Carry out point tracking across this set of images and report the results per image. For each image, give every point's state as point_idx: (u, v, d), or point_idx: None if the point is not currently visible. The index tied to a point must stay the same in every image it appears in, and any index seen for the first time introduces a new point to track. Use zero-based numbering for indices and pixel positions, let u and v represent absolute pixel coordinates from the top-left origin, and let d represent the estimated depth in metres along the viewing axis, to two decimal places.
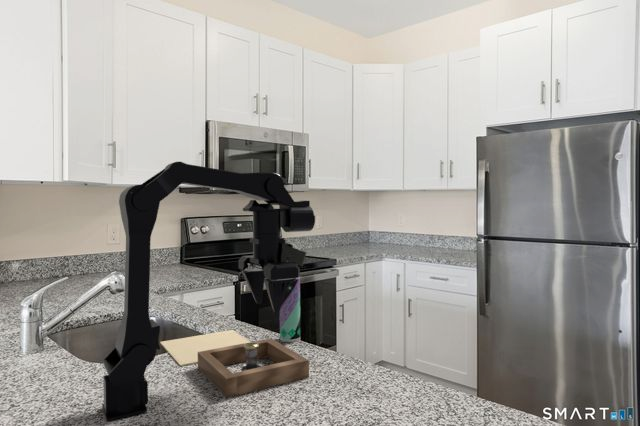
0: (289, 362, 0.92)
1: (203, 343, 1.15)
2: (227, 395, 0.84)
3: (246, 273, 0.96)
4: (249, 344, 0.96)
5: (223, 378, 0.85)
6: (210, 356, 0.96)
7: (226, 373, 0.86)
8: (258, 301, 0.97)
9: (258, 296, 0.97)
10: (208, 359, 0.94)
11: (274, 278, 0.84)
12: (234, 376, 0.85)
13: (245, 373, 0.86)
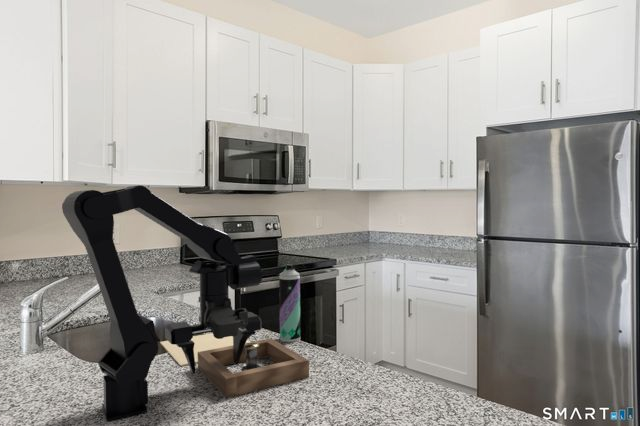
0: (289, 362, 0.92)
1: (203, 343, 1.15)
2: (227, 395, 0.84)
3: None
4: (249, 344, 0.96)
5: (223, 378, 0.85)
6: (210, 356, 0.96)
7: (226, 373, 0.86)
8: (234, 361, 0.94)
9: (234, 356, 0.94)
10: (208, 359, 0.94)
11: None
12: (234, 376, 0.85)
13: (245, 373, 0.86)
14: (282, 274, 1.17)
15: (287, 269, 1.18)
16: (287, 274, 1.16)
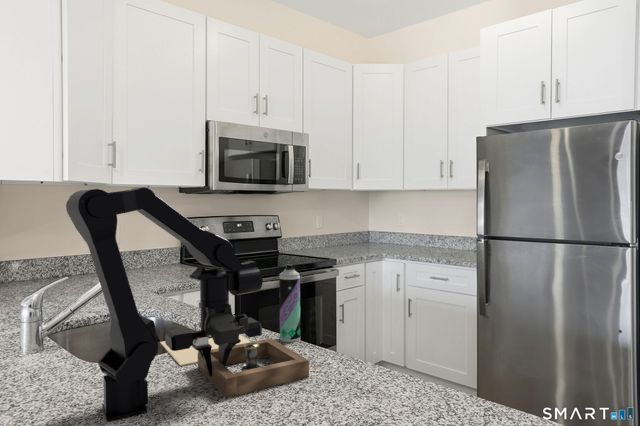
0: (289, 362, 0.92)
1: None
2: (227, 395, 0.84)
3: None
4: (249, 344, 0.96)
5: (223, 378, 0.85)
6: None
7: (226, 373, 0.86)
8: None
9: None
10: None
11: None
12: (234, 376, 0.85)
13: (245, 373, 0.86)
14: (282, 274, 1.17)
15: (287, 269, 1.18)
16: (287, 274, 1.16)
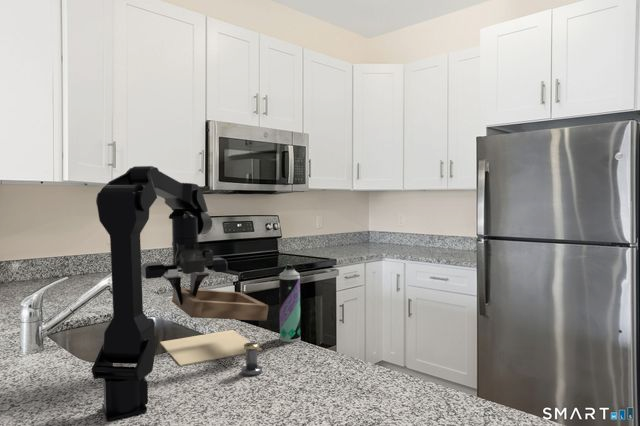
0: (250, 303, 1.05)
1: (203, 343, 1.15)
2: (192, 316, 0.96)
3: None
4: (249, 344, 0.96)
5: (191, 302, 0.98)
6: (184, 290, 1.09)
7: (195, 299, 0.99)
8: None
9: None
10: (182, 291, 1.07)
11: None
12: (201, 301, 0.98)
13: (211, 302, 0.99)
14: (282, 274, 1.17)
15: (287, 269, 1.18)
16: (287, 274, 1.16)
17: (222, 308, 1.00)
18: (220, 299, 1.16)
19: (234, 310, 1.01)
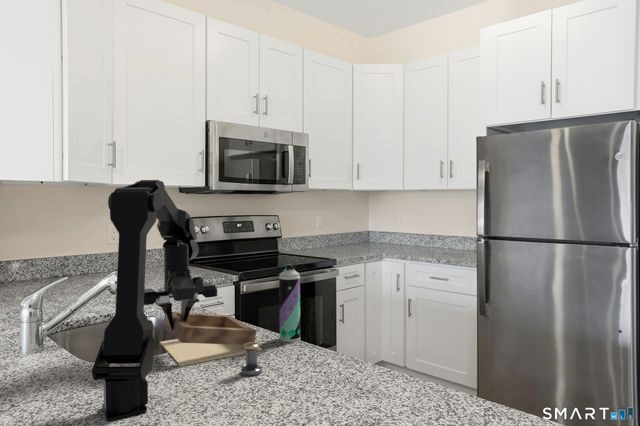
0: (239, 329, 1.09)
1: None
2: (182, 341, 1.01)
3: None
4: (249, 344, 0.96)
5: (182, 327, 1.02)
6: (175, 315, 1.13)
7: (185, 324, 1.04)
8: None
9: None
10: (173, 316, 1.11)
11: None
12: (191, 327, 1.02)
13: (201, 327, 1.03)
14: (282, 274, 1.17)
15: (287, 269, 1.18)
16: (287, 274, 1.16)
17: (211, 333, 1.04)
18: (210, 323, 1.21)
19: (223, 335, 1.06)
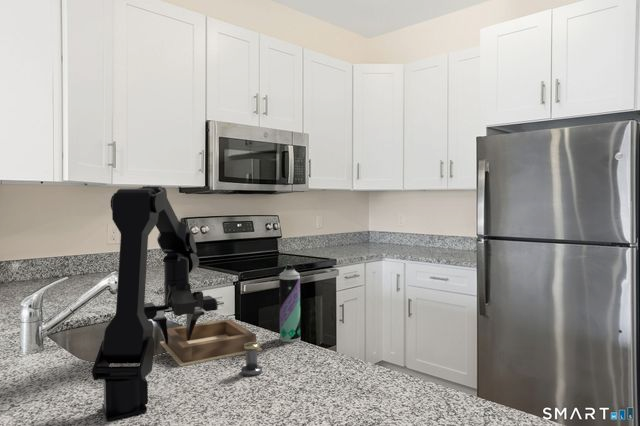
0: (238, 336, 1.09)
1: None
2: (183, 361, 1.01)
3: None
4: (249, 344, 0.96)
5: (181, 347, 1.02)
6: (174, 332, 1.13)
7: (184, 343, 1.04)
8: (187, 338, 1.11)
9: (187, 334, 1.11)
10: (171, 334, 1.11)
11: None
12: (189, 346, 1.02)
13: (199, 344, 1.03)
14: (282, 274, 1.17)
15: (287, 269, 1.18)
16: (287, 274, 1.16)
17: (211, 347, 1.04)
18: (210, 330, 1.21)
19: (223, 346, 1.06)
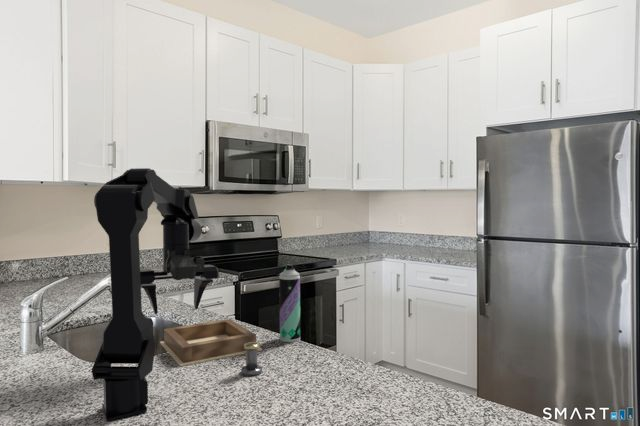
0: (238, 336, 1.09)
1: None
2: (183, 361, 1.01)
3: (194, 279, 1.09)
4: (249, 344, 0.96)
5: (181, 347, 1.02)
6: (174, 332, 1.13)
7: (184, 343, 1.04)
8: (194, 307, 1.06)
9: (195, 302, 1.06)
10: (171, 334, 1.11)
11: None
12: (189, 346, 1.02)
13: (199, 344, 1.03)
14: (282, 274, 1.17)
15: (287, 269, 1.18)
16: (287, 274, 1.16)
17: (211, 347, 1.04)
18: (210, 330, 1.21)
19: (223, 346, 1.06)
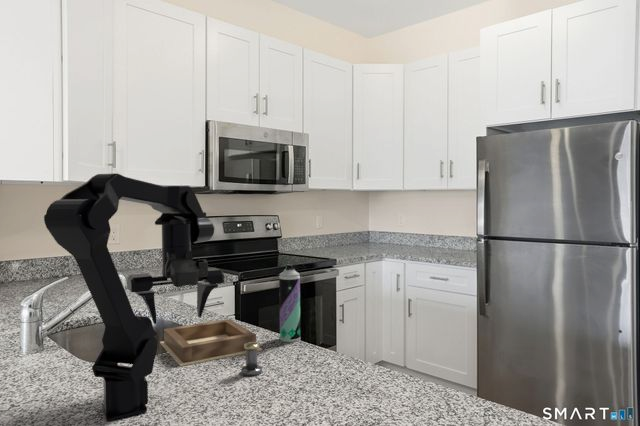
0: (238, 336, 1.09)
1: None
2: (183, 361, 1.01)
3: (197, 283, 0.98)
4: (249, 344, 0.96)
5: (181, 347, 1.02)
6: (174, 332, 1.13)
7: (184, 343, 1.04)
8: (198, 314, 0.96)
9: (198, 309, 0.96)
10: (171, 334, 1.11)
11: None
12: (189, 346, 1.02)
13: (199, 344, 1.03)
14: (282, 274, 1.17)
15: (287, 269, 1.18)
16: (287, 274, 1.16)
17: (211, 347, 1.04)
18: (210, 330, 1.21)
19: (223, 346, 1.06)
